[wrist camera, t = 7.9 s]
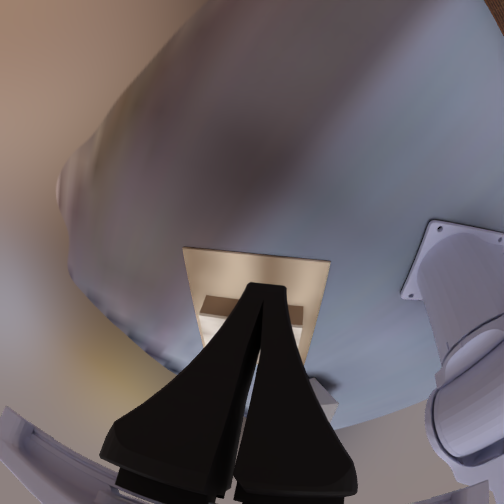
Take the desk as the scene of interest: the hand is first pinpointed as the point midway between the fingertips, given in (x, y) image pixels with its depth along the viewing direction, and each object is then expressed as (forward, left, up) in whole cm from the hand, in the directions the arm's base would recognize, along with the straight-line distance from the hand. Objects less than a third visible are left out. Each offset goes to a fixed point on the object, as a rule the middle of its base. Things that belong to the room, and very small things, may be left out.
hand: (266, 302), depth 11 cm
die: (-5, +28, -11) cm, 30 cm away
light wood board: (+2, +14, -10) cm, 18 cm away
